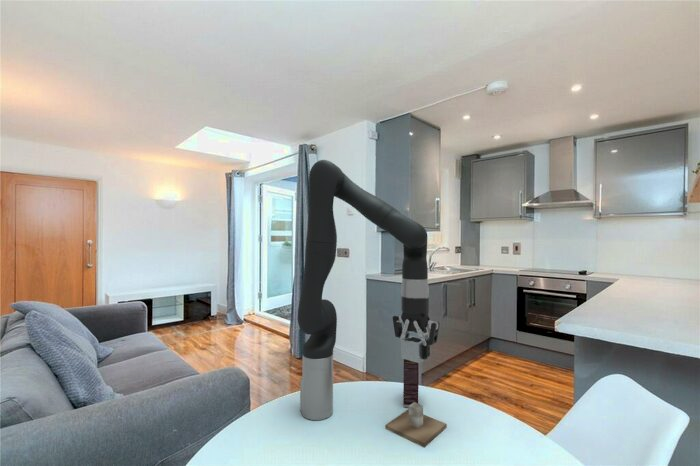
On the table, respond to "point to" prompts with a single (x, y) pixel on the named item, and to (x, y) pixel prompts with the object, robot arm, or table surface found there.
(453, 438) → the table surface
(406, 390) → the supplement box
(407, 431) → the post stand
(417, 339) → the collar
